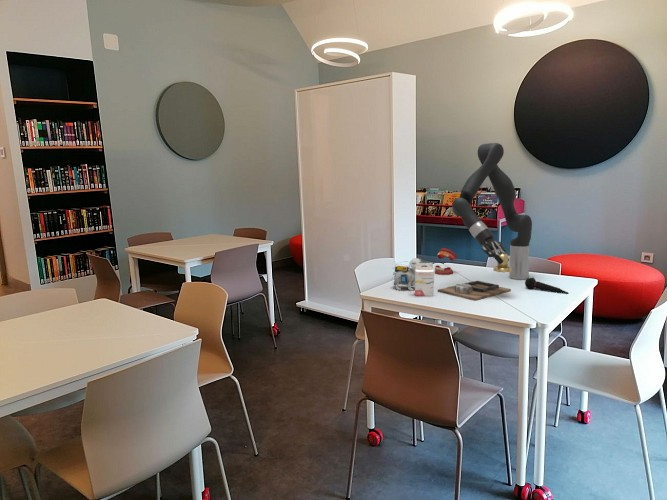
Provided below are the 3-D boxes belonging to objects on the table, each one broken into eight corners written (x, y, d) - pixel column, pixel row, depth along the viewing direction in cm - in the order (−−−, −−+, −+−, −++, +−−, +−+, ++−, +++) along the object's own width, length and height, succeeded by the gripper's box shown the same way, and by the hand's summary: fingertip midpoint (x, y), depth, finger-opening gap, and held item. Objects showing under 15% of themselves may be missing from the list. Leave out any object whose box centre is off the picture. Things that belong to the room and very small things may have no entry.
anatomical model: (428, 272, 276) (435, 246, 277) (436, 275, 281) (443, 250, 282) (444, 275, 268) (451, 248, 269) (452, 278, 273) (459, 252, 275)
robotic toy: (425, 292, 236) (425, 261, 233) (389, 290, 241) (388, 260, 239) (428, 286, 247) (428, 256, 245) (394, 284, 253) (394, 255, 251)
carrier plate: (472, 283, 251) (473, 275, 250) (510, 291, 233) (511, 282, 233) (437, 291, 236) (437, 283, 235) (475, 300, 218) (475, 291, 218)
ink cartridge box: (415, 296, 229) (415, 265, 226) (414, 293, 234) (414, 263, 231) (434, 296, 228) (434, 264, 225) (433, 293, 233) (433, 262, 230)
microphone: (568, 299, 228) (525, 288, 241) (571, 287, 227) (529, 276, 241) (564, 298, 223) (521, 286, 237) (568, 286, 223) (525, 275, 237)
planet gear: (500, 268, 228) (500, 252, 227) (515, 270, 222) (515, 254, 221) (489, 270, 223) (490, 254, 222) (504, 273, 217) (505, 256, 216)
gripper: (477, 229, 221) (502, 259, 214) (494, 226, 231) (518, 254, 224) (467, 240, 226) (490, 269, 219) (484, 236, 235) (507, 264, 228)
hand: (504, 262), depth 221 cm, fingers closed on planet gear, 4 cm apart
